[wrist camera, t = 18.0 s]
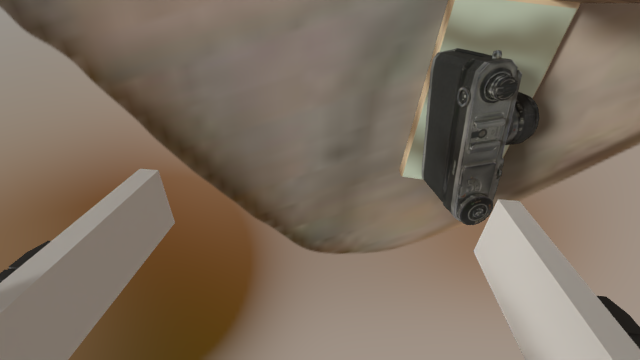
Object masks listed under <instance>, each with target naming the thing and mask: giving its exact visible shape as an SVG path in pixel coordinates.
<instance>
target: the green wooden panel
mask: <svg viewBox="0 0 640 360" xmlns="http://www.w3.org/2000/svg"><path fill="white" fill-rule="evenodd" d="M581 3H640V0H448V3H447V7H446V10H445V14H444V17H443V21H442V24H441V28H440V31H439V34H438V38H437V41H436V45H435V48H434V52H433V55H432V59H431V62H430V66H429V69H428V73H427V76H426V80H425V83H424V87H423V90H422V94H421V97H420V100H419V104H418V107H417V111H416V114H415V118H414V121H413V125H412V128H411V132H410V135H409V139H408V142H407V146H406V149H405V153H404V156H403V159H402V163H401V166H400V170H399V171H400V174H401V176H403V177H409V178H417V179H423V178H422V160H423V150H424V139H425V127H426V115H427V104H428V93H429V82H430V72H431V66H432V61H433V58H434V57H435V55H436V54H437V53H438V52H443V51H448V50H452V49H456V48H460V49H465V50H470V51H474V52H479V53H484V54H488V55H492V54H493V52H494V51H496V50H499V51H502V58H506V59H511V60H513V61H514V63H515V64H516V65H517V67H518V69H517V70H520V71H521V73H522V77H521V82H520V86H519V91H518V92H521V93H523V94H526V95H528V96H530V97H531V98H532V99H533V98H534V96H535V94H536V92H537V90H538V88H539V86H540V84H541V82H542V80H543V78H544V76H545V74H546V72H547V70H548V68H549V66H550V64H551V62H552V60H553V58H554V56H555V54H556V52H557V50H558V48H559V46H560V44H561V42H562V40H563V38H564V36H565V34H566V32H567V30H568V28H569V26H570V24H571V22H572V20H573V18H574V16H575V14H576V12H577V10H578V8H579V6H580V4H581ZM509 146H510V145H505V147H504V151H503V155H502V158H504V156H505V154H506V152H507V150H508V148H509Z"/></svg>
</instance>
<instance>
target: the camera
mask: <svg viewBox="0 0 640 360" xmlns="http://www.w3.org/2000/svg"><path fill="white" fill-rule="evenodd" d="M517 69H518V67H517V65H516V64H515V63H514V61H513V60H511V59H506V58H502V51H499V50H496V51H494V52H493V54H492V55H488V54H484V53H479V52H474V51H470V50H465V49H460V48H456V49H452V50H448V51H443V52H438V53H437V54H436V55H435V57H434V58H433V61H432V66H431V72H430V82H429V93H428V104H427V115H426V127H425V139H424V150H423V160H422V178H423V179H424V180H425V182H426V183H427V184H428V185H429V187H430V188H431V189H432V190H433V191H434V192H435V194H436V195H437V196H438V197H439V199H440V200H441V201H442V202H443V205H444V206H445V207H446V208H447V209H448V210H449V211H450V212H451V214H452V215H453V216H454V217H455V218H456V219H457V220H459V221H461V222H462V223H464V224H466V225H475V224H478V223H480V222H482V221H484V220H485V219H486V218H487V217H488V216H489V215H490V213H491V211H492V209H493V199H494V196H495V193H496V189H497V186H498V182H499V178H500V176H501V174H502V167H503V162H504V159H503V158H502V155H503V151H504V147H505V145H511V144H518V143H521V142H523V141H525V140H526V139H527V138H529V137H530V136H531V135H533V133H534V132H535V130H536V128H537V125H538V121H539V112H538V107H537V104H536V103H535V101H534V100H533V99H532V98H531V97H530V96H528V95H526V94H523V93H521V92H518V91H519V86H520V82H521V77H522V73H521V71H520V70H517Z"/></svg>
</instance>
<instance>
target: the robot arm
mask: <svg viewBox="0 0 640 360" xmlns="http://www.w3.org/2000/svg"><path fill="white" fill-rule="evenodd" d="M174 223H175V222H174V219H173V215H172V212H171V209H170V206H169V203H168V199H167V196H166V193H165V190H164V187H163V184H162V181H161V177H160V174H159V171H158V170H148V169H139V170H138V171H137V172H135V173H134V174H133V175H132V176H130V177H129V178H128V179H127V180H126V181H124V182H123V183H122V184H121V185H119V186H118V187H117V188H116V189H115V190H113V191H112V192H111V193H110V194H108V195H107V196H106V197H105V198H104V199H102V200H101V201H100V202H99V203H98V204H96V205H95V206H94V207H93V208H92V209H90V210H89V211H88V212H86V213H85V214H84V215H83V216H82V217H80V218H79V219H78V220H77V221H76V222H74V223H73V224H72V225H71V226H69V227H68V228H67V229H66V230H65V231H63V232H62V233H61V234H60V235H58V236H57V237H56V238H55V239H54V240H52V241H47V242H45V243H43V244H41V245H40V246H38V247H36V248H34V249H32V250H30V251H28V252H27V253H25V254H24V255H23V256H22V257H21V258H19V259H18V260H17V261H15V262H14V263H13V264H12V265H10V266H9V269H8V270H4V271H3V272H1V273H0V360H68V359H69V357H70V356H71V355H72V354H73V352H74V351H75V350H76V349H77V347H78V346H79V345H80V344H81V342H82V341H83V340H84V338H85V337H86V336H87V335H88V333H89V332H90V331H91V329H92V328H93V327H94V326H95V324H96V323H97V322H98V320H99V319H100V318H101V317H102V315H103V314H104V313H105V312H106V310H107V309H108V308H109V306H110V305H111V304H112V302H113V301H114V300H115V299H116V297H117V296H118V295H119V294H120V292H121V291H122V290H123V289H124V287H125V286H126V285H127V283H128V282H129V281H130V279H131V278H132V277H133V276H134V274H135V273H136V272H137V271H138V269H139V268H140V266H141V265H142V264H143V263H144V262H145V260H146V259H147V258H148V256H149V255H150V254H151V253H152V251H153V250H154V249H155V247H156V246H157V245H158V244H159V242H160V241H161V240H162V238H163V237H164V236H165V235H166V233H167V232H168V231H169V229H170V228H171V227H172V226H173V224H174ZM474 253H475V256H476V258H477V260H478V262H479V264H480V266H481V268H482V270H483V272H484V274H485V277H486V279H487V281H488V283H489V285H490V287H491V289H492V291H493V293H494V296H495V298H496V300H497V302H498V304H499V306H500V308H501V310H502V312H503V315H504V317H505V319H506V321H507V323H508V325H509V327H510V329H511V331H512V333H513V335H514V338H515V340H516V342H517V344H518V346H519V348H520V350H521V353H522V354H523V357H524V359H525V360H640V327H639V326H638V325H637V324H636V323H635V321H634V320H633V319H632V318H631V317H630V315H628V314H627V313H626V312H625V311H624V310H622V309H621V308H620V307H619V306H617V305H616V304H615V303H613V302H612V301H611V300H610V299H608V298H607V297H604V296H596V295H595V293H594V292H593V291H592V290H591V289H590V287H589V286H588V285H587V284H586V282H585V281H584V280H583V279H582V278H581V276H580V275H579V274H578V273H577V271H576V270H575V269H574V268H573V267H572V265H571V264H570V263H569V261H568V260H567V259H566V258H565V257H564V255H563V254H562V253H561V252H560V250H559V249H558V248H557V247H556V245H555V244H554V243H553V242H552V241H551V240H550V238H549V237H548V236H547V235H546V233H545V232H544V231H543V229H542V228H541V227H540V226H539V225H538V223H537V222H536V221H535V220H534V218H533V217H532V216H531V215H530V214H529V212H528V211H527V210H526V209H525V207H524V206H523V205H522V204H521V202H520V201H512V200H500V199H498V201H497V203H496V205H495V207H494V209H493V211H492V213H491V216H490V218H489V220H488V222H487V224H486V226H485V228H484V230H483V232H482V235H481V237H480V239H479V241H478V243H477V245H476V247H475V249H474Z"/></svg>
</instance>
